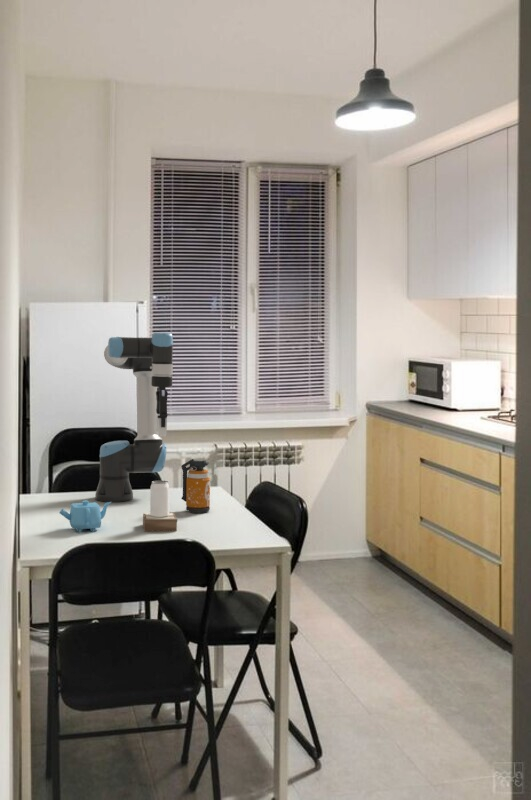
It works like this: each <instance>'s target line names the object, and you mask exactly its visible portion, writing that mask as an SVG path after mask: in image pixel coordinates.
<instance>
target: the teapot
mask: <svg viewBox="0 0 531 800" xmlns="http://www.w3.org/2000/svg"><path fill="white" fill-rule="evenodd" d="M112 503H113V502H105V503H104V505H103V507H102V510H101V507H100V505H99V504H98V502H96V501H94V502H89V500H82V501H81V502H78V503H76V502H75V503H71V504H70V511H69V512H67V511H66V510H65V509H63V508H62V509H60V511H59V512H58V513H59V515H62V516H63V517H64V518H65V519H67V520H68V521H69V525H70V528H71V529H72V530H76V531H75V532H76V533H82V532H83V530H87V529H90V532H97V531H98V530H97V529H100V528H101V527H102V520H103V519H104V518H105V516H106V512H107V509H108V506H109V505H110V504H112Z"/></svg>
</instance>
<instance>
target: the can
mask: <svg viewBox="0 0 531 800" xmlns="http://www.w3.org/2000/svg"><path fill="white" fill-rule="evenodd" d="M149 493H150V495H149V496H150V497H149V498H150V499H149V500H150V503H149V504H150V507H149V508H150V511H149V513H150V515H151V516H152V517H159V518H160V517H167V516H168V515H169V513H170V485H169V482H168V481H167V480H153V481H151V485H150V492H149Z"/></svg>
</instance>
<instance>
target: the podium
mask: <svg viewBox="0 0 531 800" xmlns="http://www.w3.org/2000/svg"><path fill="white" fill-rule="evenodd" d="M177 522H178V519H177V516H176V514H175V512H169V515H168V516H167V517H160V518H159V517H152V516H151V515H150V512H149V513H148V512H145V513H142V526H143V530H144V533H149V532H177V531H178V529H177V528H178V523H177Z"/></svg>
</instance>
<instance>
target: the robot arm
mask: <svg viewBox="0 0 531 800" xmlns="http://www.w3.org/2000/svg"><path fill="white" fill-rule="evenodd" d="M107 343H108V344H107V346H106V347H105V348H104V352H103V354H104V355H103V357H104V359H105V361H106V363H108V364H109V365H110V366H112V367H115V368H117V369H122V370H132V374H133V376H134V377H136V406H137V407H136V408H137V409H136V411H137V415H136V417H137V436H136V437H135V438H134V439H133V443H131V444H130V441H128V440H113V441H108V442H106V443H104V444H101V446H100V449H99V481H98V484H97V487H96V490H95V494H94V496H95V500H96V501H99V502H105V503H108V502H112V503H118V502H121V503H122V502H127V501H131V500H133V499H134V491H133V489H132V488H133V487H132V485H131V483H130V474H131V473H132V474H137V473H151V474H152V473H159V472H162V471H163V470H164V467H165V464H166V458H167V444H166V443H163V437H167V436H168V433H167V432H168V430H167V428H168V427H167V425H168V416H169V415H168V390H167V389H166V388H171V387H172V386H173V376H172V375H173V374H174V373H173V369H174V367H173V364H174V363H173V349H174V347H173V344H174V340H173V334H172V333H170V332H169V333H168V332H153V333H152V334H151V337H125V336H124V337H123V336H116V337H115V336H114V337H113V336H111V337H109V338H108V342H107Z"/></svg>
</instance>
